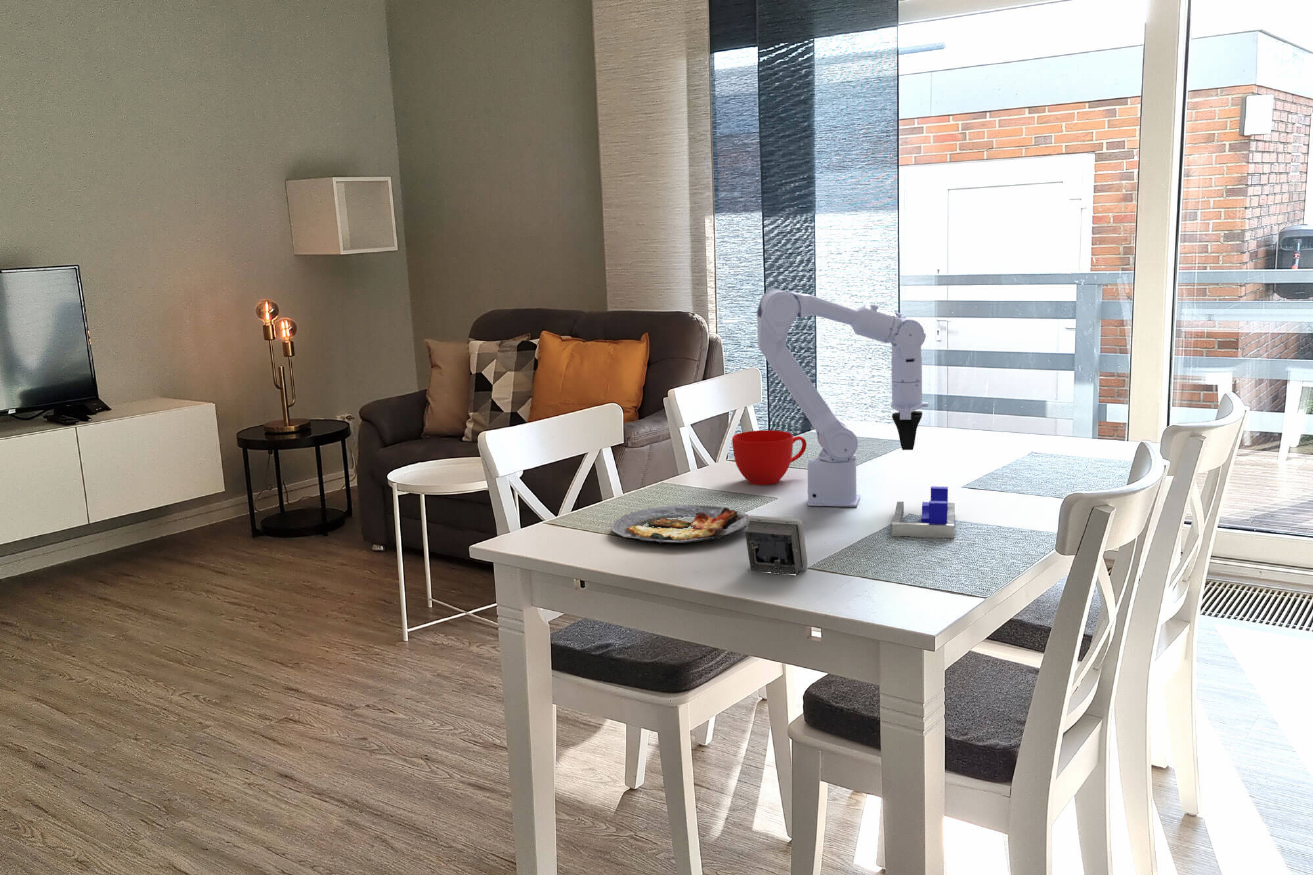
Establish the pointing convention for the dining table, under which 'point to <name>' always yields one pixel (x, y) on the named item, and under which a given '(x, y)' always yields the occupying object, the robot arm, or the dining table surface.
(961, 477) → the dining table surface
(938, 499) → the blue stepped block
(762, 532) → the electrical switch
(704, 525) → the food plate
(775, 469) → the ceramic cup
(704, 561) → the dining table surface
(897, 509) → the rail bracket
